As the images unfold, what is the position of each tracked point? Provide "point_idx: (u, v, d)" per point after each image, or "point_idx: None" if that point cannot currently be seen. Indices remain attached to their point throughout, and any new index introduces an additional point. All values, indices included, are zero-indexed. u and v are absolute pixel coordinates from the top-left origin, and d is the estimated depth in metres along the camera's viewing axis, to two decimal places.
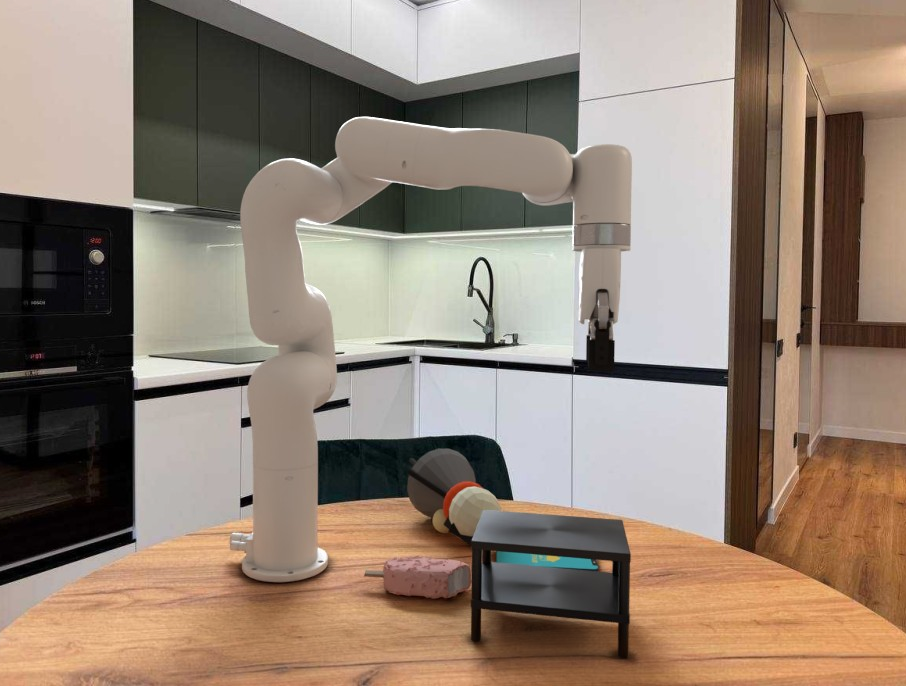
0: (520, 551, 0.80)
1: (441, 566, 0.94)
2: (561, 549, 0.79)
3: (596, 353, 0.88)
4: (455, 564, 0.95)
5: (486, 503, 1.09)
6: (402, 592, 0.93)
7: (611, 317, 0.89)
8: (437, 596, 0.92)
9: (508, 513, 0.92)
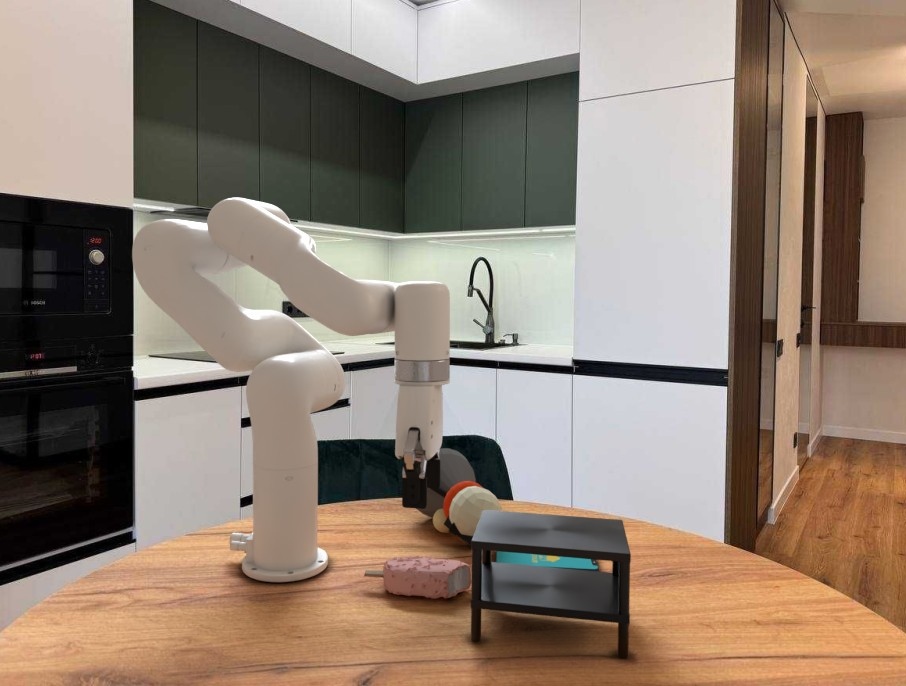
0: (520, 551, 0.80)
1: (441, 566, 0.94)
2: (561, 549, 0.79)
3: (408, 491, 0.89)
4: (455, 564, 0.95)
5: (487, 503, 1.09)
6: (402, 592, 0.93)
7: (424, 454, 0.90)
8: (437, 596, 0.92)
9: (508, 513, 0.92)
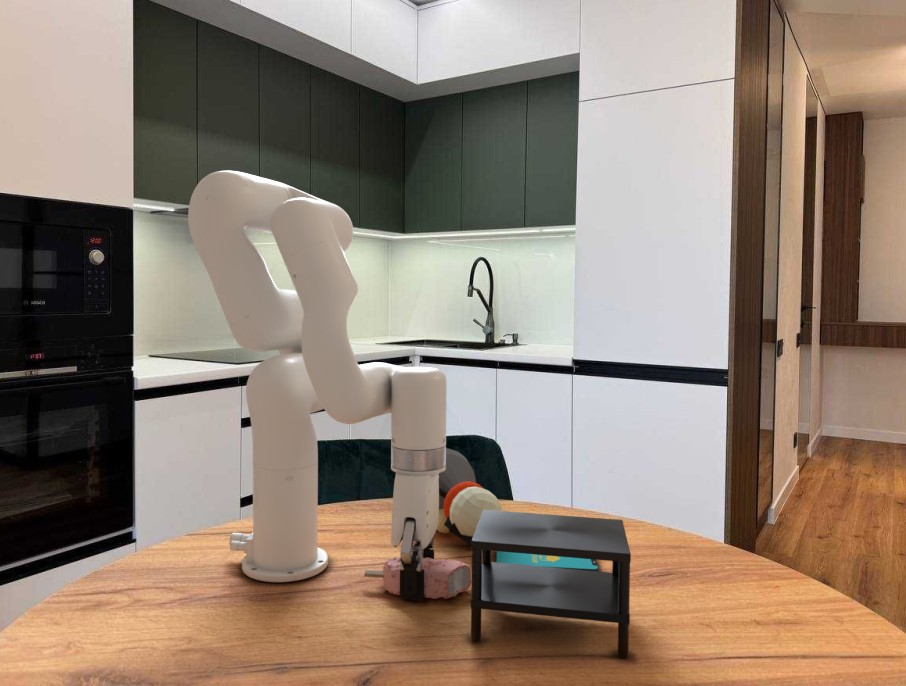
0: (520, 551, 0.80)
1: (440, 566, 0.94)
2: (561, 549, 0.79)
3: (405, 583, 0.91)
4: (455, 564, 0.95)
5: (487, 503, 1.09)
6: None
7: (420, 547, 0.91)
8: (437, 596, 0.92)
9: (508, 513, 0.92)
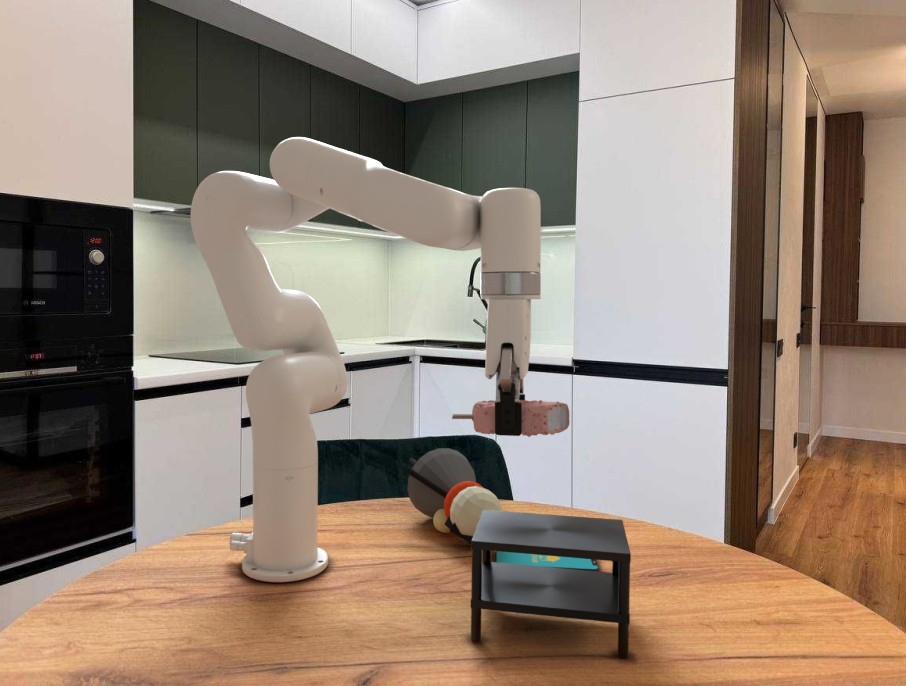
0: (520, 551, 0.80)
1: (537, 403, 0.86)
2: (561, 549, 0.79)
3: (502, 417, 0.84)
4: (552, 402, 0.87)
5: (488, 503, 1.09)
6: None
7: (518, 377, 0.84)
8: (535, 433, 0.85)
9: (508, 513, 0.92)
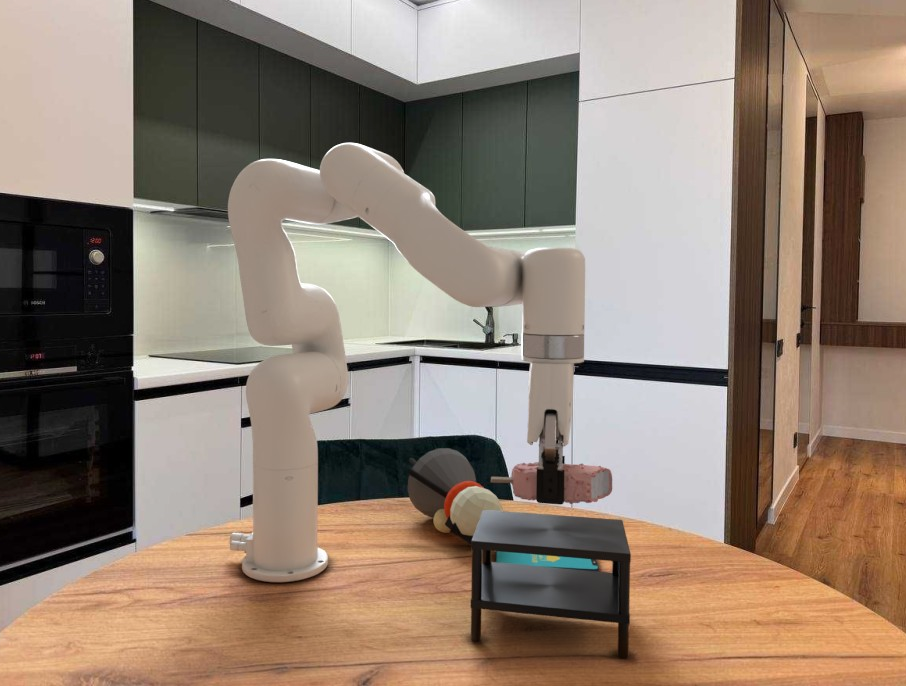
0: (520, 551, 0.80)
1: (579, 469, 0.84)
2: (561, 549, 0.79)
3: (544, 485, 0.81)
4: (594, 467, 0.85)
5: (488, 503, 1.09)
6: None
7: (561, 444, 0.81)
8: (578, 500, 0.82)
9: (508, 513, 0.92)
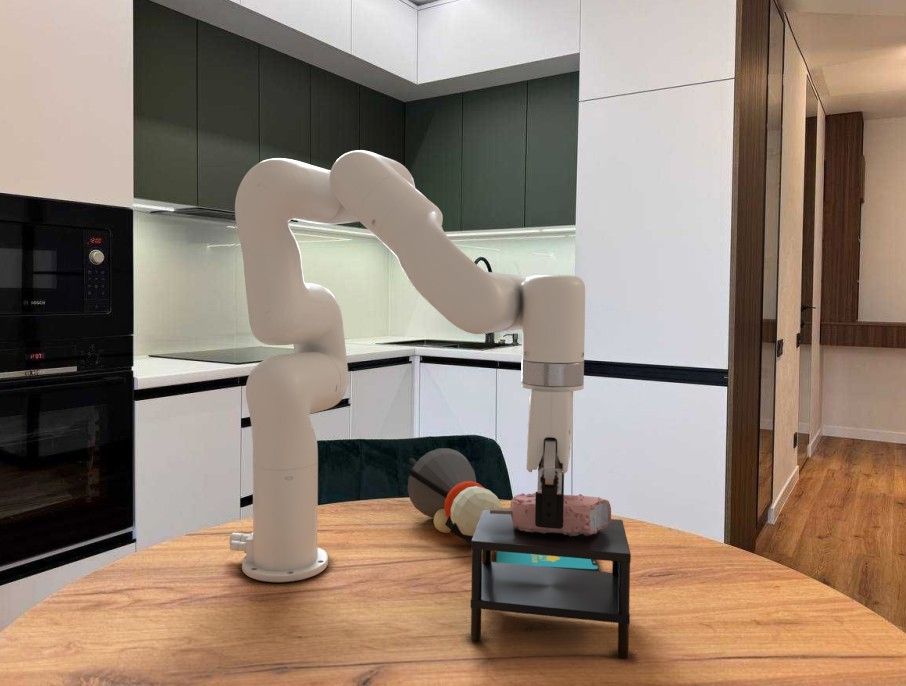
0: (520, 551, 0.80)
1: (578, 501, 0.84)
2: (561, 549, 0.79)
3: (543, 509, 0.80)
4: (593, 499, 0.85)
5: (488, 503, 1.09)
6: (537, 529, 0.83)
7: (560, 468, 0.81)
8: (577, 533, 0.82)
9: None
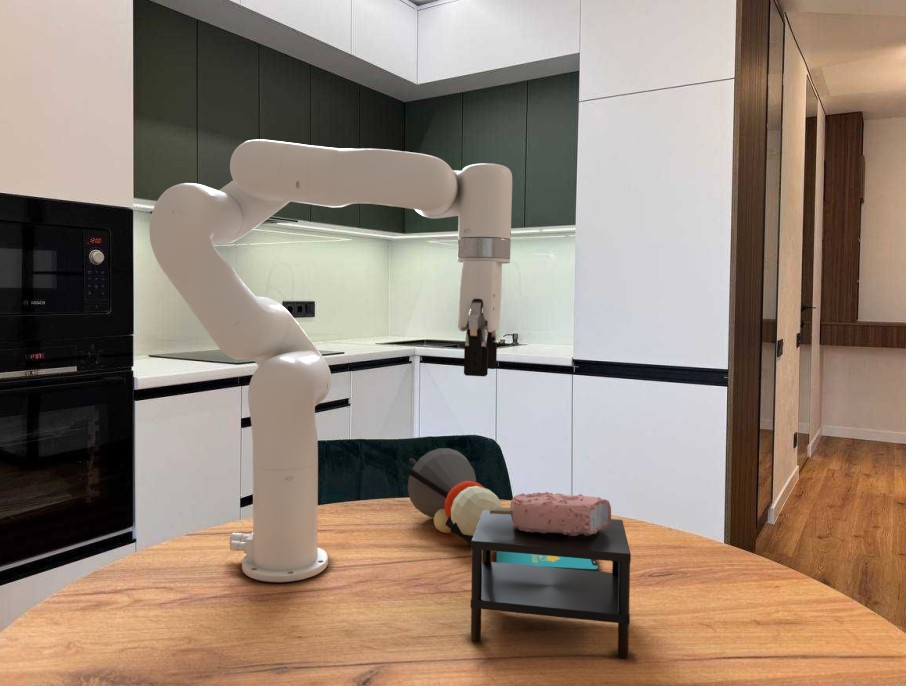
0: (520, 551, 0.80)
1: (578, 501, 0.84)
2: (561, 549, 0.79)
3: (470, 359, 0.94)
4: (593, 499, 0.85)
5: (488, 503, 1.09)
6: (537, 529, 0.83)
7: (486, 325, 0.95)
8: (577, 533, 0.82)
9: None
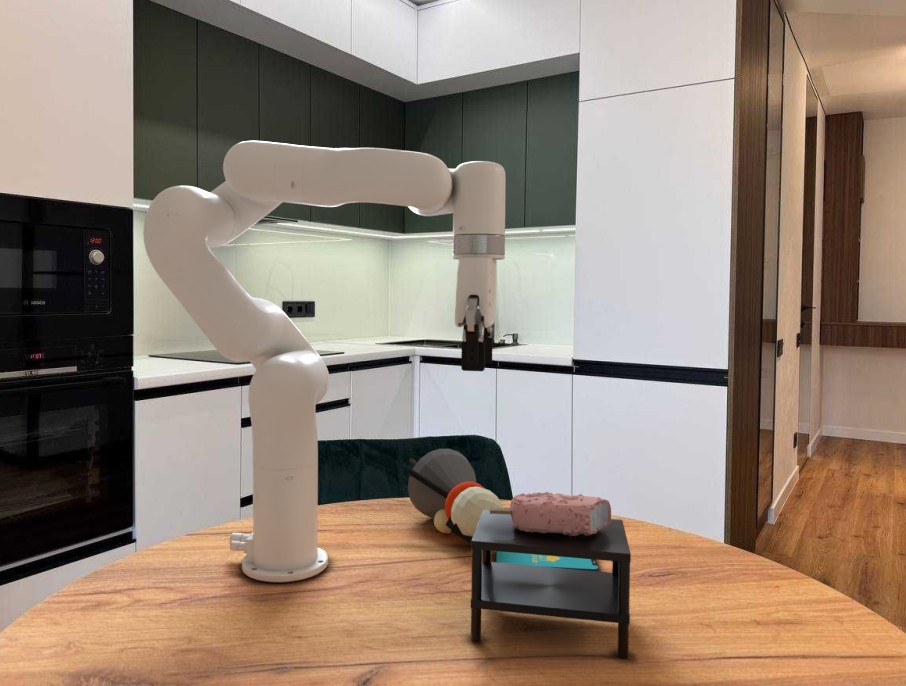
0: (520, 551, 0.80)
1: (578, 501, 0.84)
2: (561, 549, 0.79)
3: (467, 354, 0.95)
4: (593, 499, 0.85)
5: (489, 503, 1.09)
6: (537, 529, 0.83)
7: (482, 321, 0.96)
8: (577, 533, 0.82)
9: None
